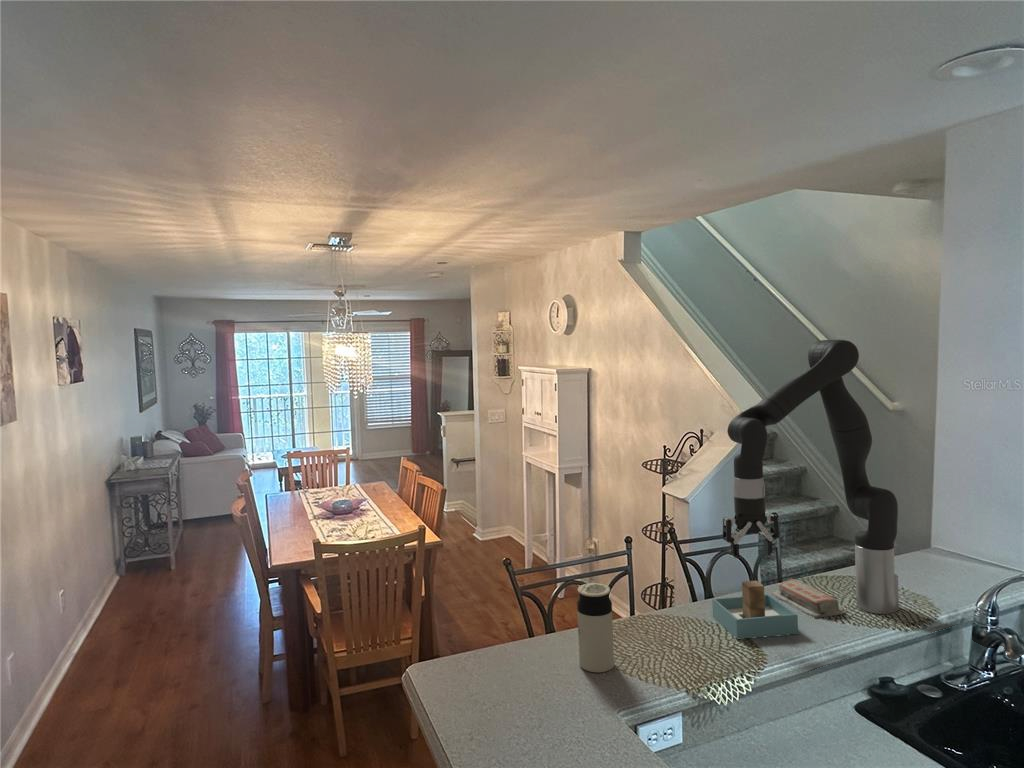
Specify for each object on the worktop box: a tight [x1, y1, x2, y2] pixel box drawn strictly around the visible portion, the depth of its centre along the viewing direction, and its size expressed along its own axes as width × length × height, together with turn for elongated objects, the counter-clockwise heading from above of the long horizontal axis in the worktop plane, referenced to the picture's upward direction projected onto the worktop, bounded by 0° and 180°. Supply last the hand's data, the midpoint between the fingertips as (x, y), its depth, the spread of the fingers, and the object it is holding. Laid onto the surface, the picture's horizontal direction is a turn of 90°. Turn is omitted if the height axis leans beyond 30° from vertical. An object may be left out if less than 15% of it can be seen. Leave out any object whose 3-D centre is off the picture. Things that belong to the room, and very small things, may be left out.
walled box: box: [712, 593, 799, 640], centre depth 159 cm, size 16×14×5 cm
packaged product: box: [770, 578, 845, 619], centre depth 172 cm, size 18×5×10 cm
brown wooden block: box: [741, 580, 765, 618], centre depth 159 cm, size 4×4×11 cm
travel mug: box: [576, 582, 615, 673], centre depth 142 cm, size 8×8×18 cm
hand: (751, 556), depth 159 cm, fingers open, 8 cm apart
